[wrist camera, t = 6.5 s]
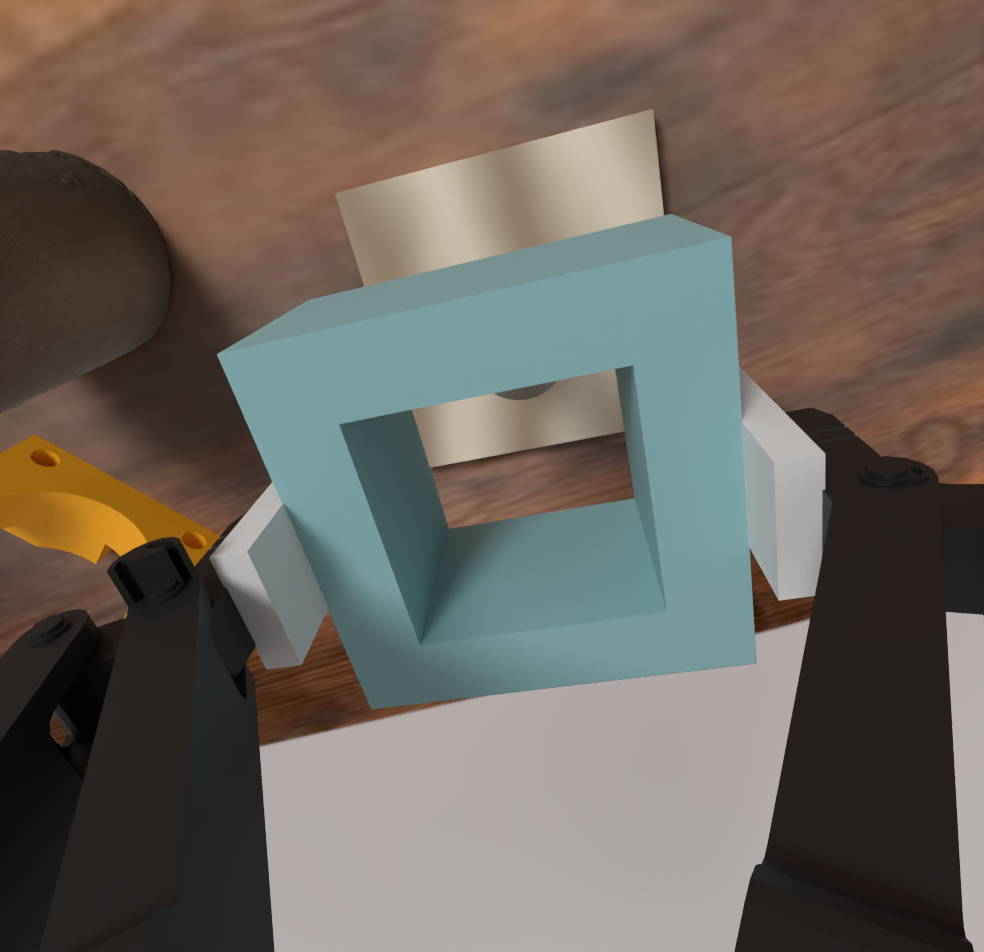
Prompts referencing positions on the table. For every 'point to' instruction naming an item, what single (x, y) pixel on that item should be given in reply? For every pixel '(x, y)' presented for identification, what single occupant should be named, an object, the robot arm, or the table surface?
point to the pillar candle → (72, 272)
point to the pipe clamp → (84, 506)
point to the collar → (531, 539)
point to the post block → (501, 229)
